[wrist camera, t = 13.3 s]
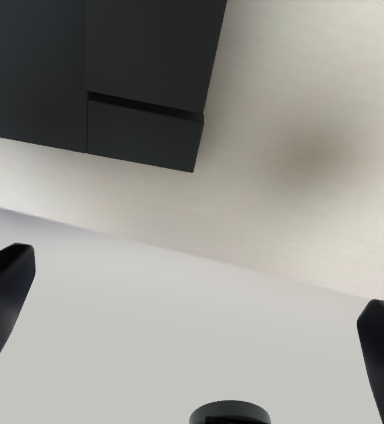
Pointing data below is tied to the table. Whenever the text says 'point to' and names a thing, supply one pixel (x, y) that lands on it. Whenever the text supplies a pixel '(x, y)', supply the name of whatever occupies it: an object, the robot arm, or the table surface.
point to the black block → (153, 49)
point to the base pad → (79, 94)
